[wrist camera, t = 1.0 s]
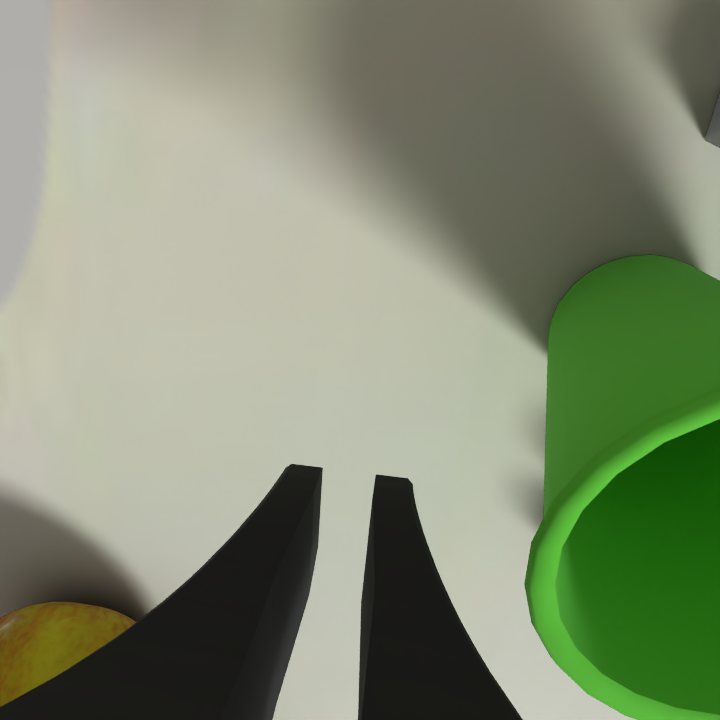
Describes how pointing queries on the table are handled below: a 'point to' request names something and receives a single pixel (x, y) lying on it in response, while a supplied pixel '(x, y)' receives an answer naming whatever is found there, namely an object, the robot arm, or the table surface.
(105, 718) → the robot arm
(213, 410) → the table surface
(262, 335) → the table surface
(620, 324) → the cup
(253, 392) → the table surface
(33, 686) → the fruit
